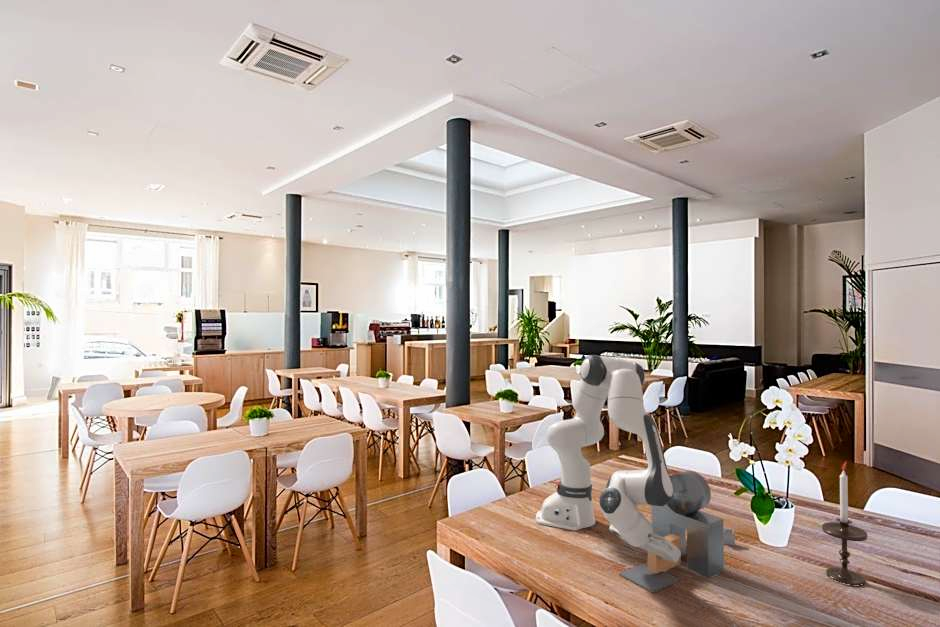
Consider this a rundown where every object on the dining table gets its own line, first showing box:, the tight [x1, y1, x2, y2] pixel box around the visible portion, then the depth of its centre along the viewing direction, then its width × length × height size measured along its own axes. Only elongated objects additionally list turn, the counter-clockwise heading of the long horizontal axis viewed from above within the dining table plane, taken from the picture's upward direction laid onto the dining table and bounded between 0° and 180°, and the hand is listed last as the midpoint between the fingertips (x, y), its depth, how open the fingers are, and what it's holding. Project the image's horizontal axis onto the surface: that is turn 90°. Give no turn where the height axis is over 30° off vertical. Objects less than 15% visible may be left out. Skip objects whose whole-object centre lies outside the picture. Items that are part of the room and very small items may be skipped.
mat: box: [618, 562, 680, 593], centre depth 152 cm, size 12×12×1 cm
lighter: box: [723, 527, 736, 547], centre depth 175 cm, size 7×2×8 cm, turn 72°
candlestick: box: [821, 461, 868, 585], centre depth 151 cm, size 11×11×35 cm
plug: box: [647, 534, 682, 574], centre depth 156 cm, size 12×3×8 cm, turn 123°
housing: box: [651, 470, 725, 579], centre depth 162 cm, size 8×20×28 cm, turn 33°
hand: (657, 554), depth 154 cm, fingers closed on plug, 3 cm apart
